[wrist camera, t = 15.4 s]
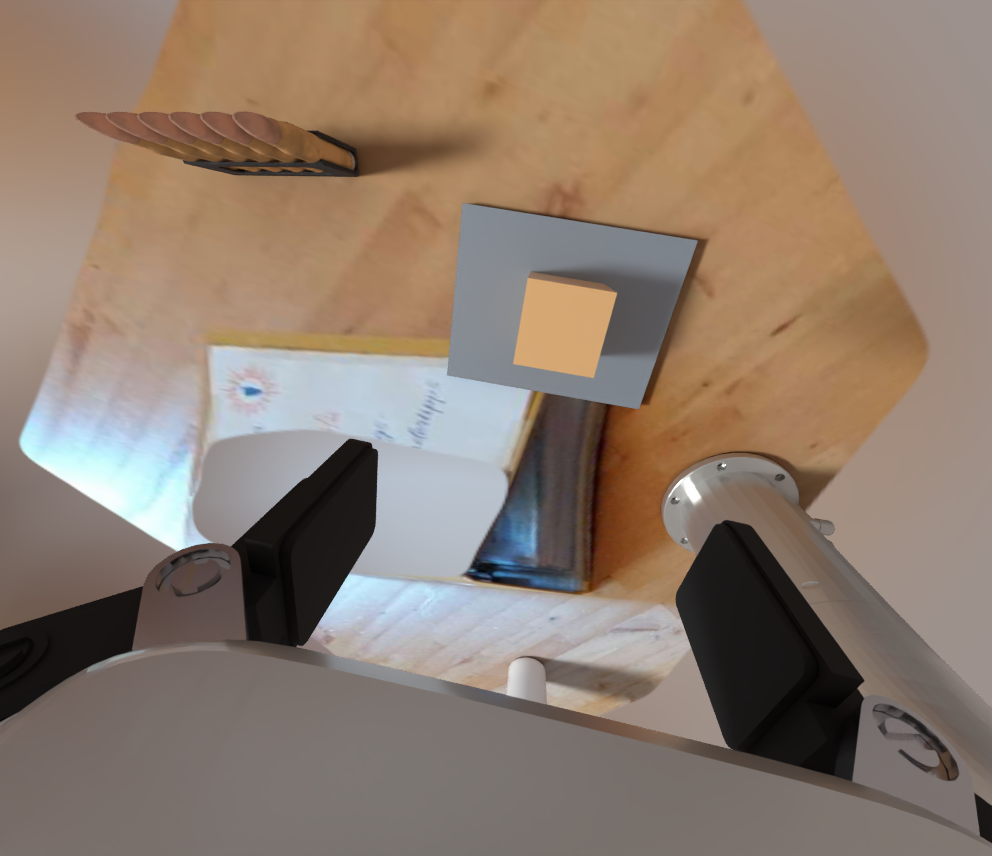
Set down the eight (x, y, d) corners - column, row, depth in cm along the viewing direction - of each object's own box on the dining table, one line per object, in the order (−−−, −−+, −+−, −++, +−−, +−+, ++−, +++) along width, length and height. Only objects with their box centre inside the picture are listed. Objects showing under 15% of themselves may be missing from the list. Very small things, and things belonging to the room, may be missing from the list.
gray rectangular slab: (693, 240, 29) (717, 240, 25) (636, 404, 35) (648, 425, 31) (465, 204, 30) (452, 198, 26) (449, 371, 36) (437, 388, 32)
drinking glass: (531, 686, 57) (528, 822, 43) (495, 666, 56) (480, 800, 42) (560, 666, 54) (565, 806, 41) (522, 645, 53) (515, 781, 39)
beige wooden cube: (604, 283, 30) (617, 292, 25) (585, 355, 33) (593, 378, 27) (530, 271, 30) (527, 277, 25) (517, 344, 33) (513, 364, 28)
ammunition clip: (356, 147, 29) (246, 92, 18) (359, 176, 30) (256, 140, 19) (227, 147, 30) (50, 93, 19) (233, 175, 31) (68, 139, 20)
